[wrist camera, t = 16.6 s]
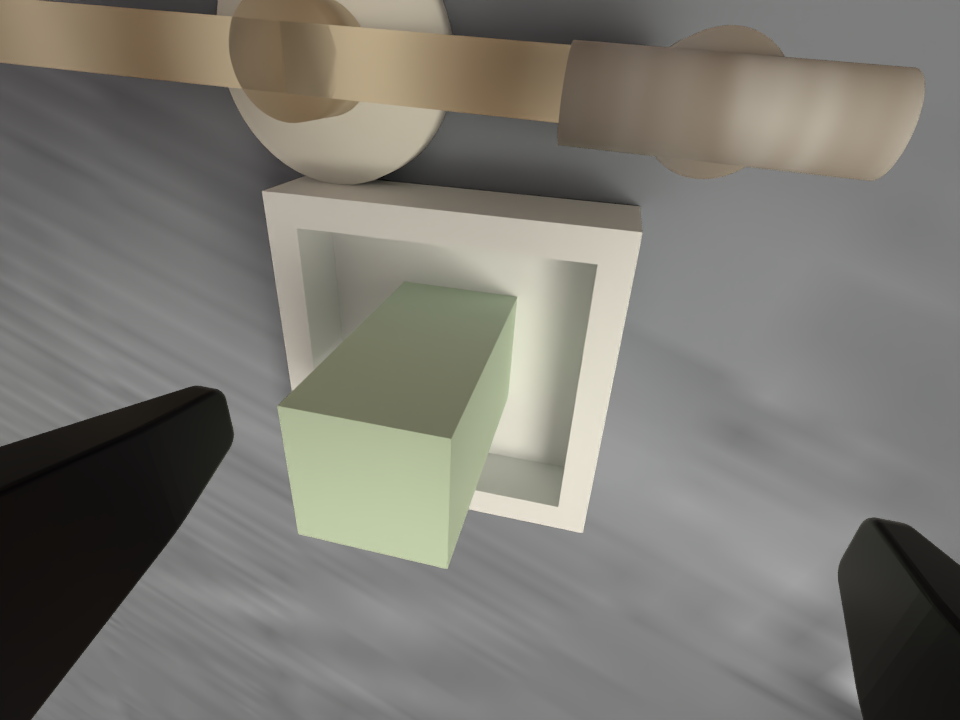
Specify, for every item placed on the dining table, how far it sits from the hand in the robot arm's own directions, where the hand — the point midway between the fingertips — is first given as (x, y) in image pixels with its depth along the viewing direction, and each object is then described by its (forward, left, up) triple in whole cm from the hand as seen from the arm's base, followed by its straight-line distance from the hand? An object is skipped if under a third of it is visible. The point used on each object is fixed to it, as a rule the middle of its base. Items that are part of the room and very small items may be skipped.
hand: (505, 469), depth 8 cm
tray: (+4, +4, -12) cm, 13 cm away
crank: (+6, -5, -10) cm, 13 cm away
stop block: (+4, +4, -11) cm, 12 cm away
